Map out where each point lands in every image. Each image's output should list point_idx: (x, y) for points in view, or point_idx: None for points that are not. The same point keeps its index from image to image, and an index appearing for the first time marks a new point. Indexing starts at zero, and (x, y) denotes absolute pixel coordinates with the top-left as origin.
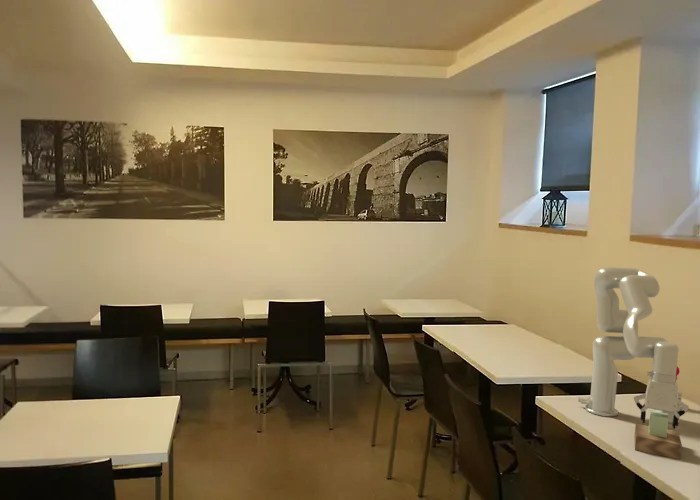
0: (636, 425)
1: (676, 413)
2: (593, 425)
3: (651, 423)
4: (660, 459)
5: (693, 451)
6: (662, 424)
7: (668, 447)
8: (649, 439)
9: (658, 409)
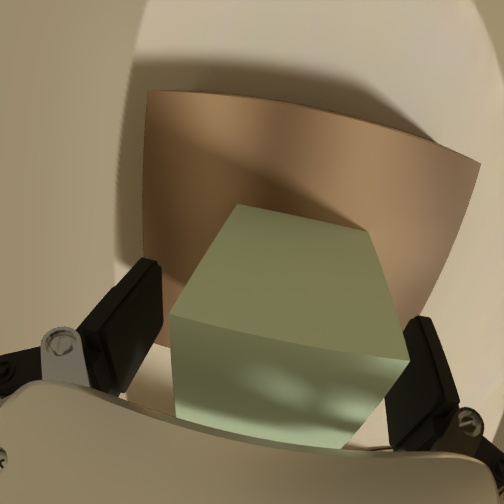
0: None
1: (56, 372)
2: (474, 382)
3: (377, 287)
4: (316, 35)
5: (117, 239)
6: (262, 270)
7: (248, 97)
8: (394, 130)
9: (321, 454)
